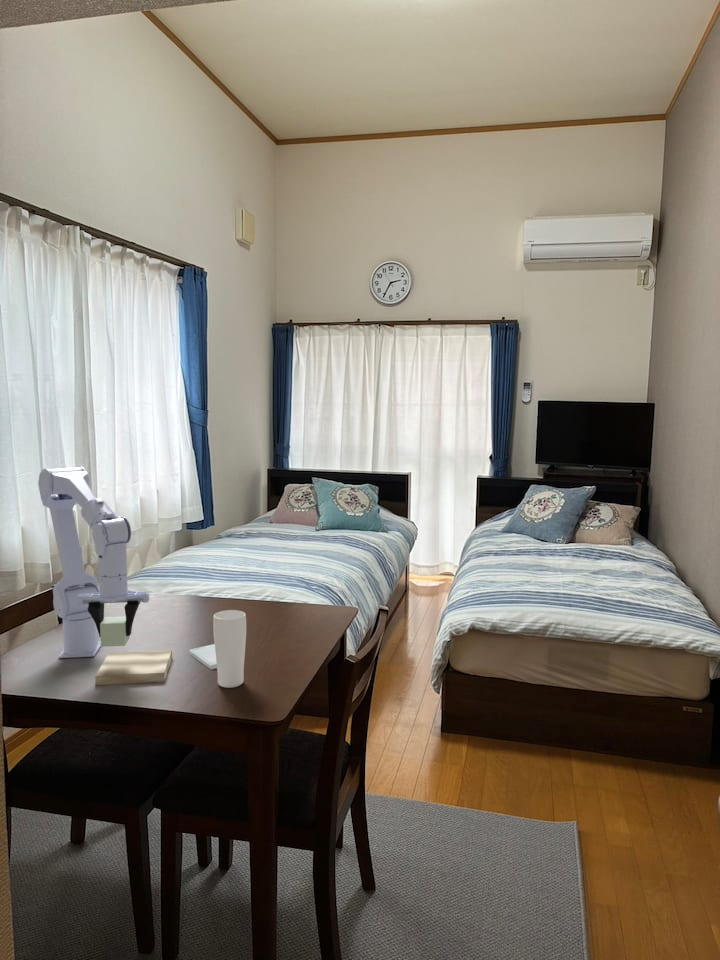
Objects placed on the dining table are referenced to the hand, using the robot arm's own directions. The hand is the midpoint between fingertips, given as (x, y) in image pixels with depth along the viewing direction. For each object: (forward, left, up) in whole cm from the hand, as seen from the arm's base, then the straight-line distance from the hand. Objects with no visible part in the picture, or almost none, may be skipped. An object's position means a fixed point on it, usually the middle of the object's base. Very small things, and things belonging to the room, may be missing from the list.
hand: (115, 635), depth 152 cm
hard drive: (-7, +21, -9) cm, 24 cm away
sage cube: (0, 0, -2) cm, 2 cm away
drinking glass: (+10, +25, -9) cm, 28 cm away
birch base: (0, +4, -9) cm, 9 cm away
